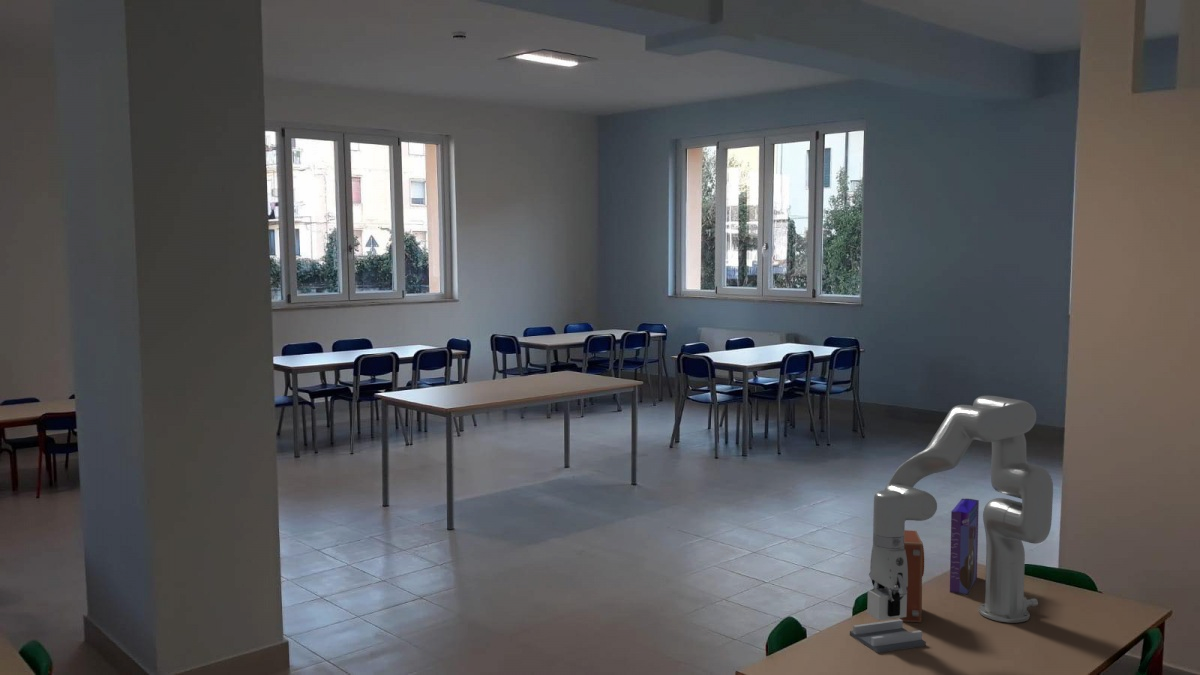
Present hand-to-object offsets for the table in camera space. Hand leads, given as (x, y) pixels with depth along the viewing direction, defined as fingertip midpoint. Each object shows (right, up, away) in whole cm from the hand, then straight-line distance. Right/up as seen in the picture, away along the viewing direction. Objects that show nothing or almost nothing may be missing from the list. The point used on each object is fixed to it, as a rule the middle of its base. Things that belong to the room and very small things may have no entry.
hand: (886, 610), depth 235 cm
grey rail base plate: (0, -8, +1) cm, 8 cm away
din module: (0, -1, 0) cm, 1 cm away
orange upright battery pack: (+11, -6, +19) cm, 23 cm away
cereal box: (+36, -5, +42) cm, 55 cm away
